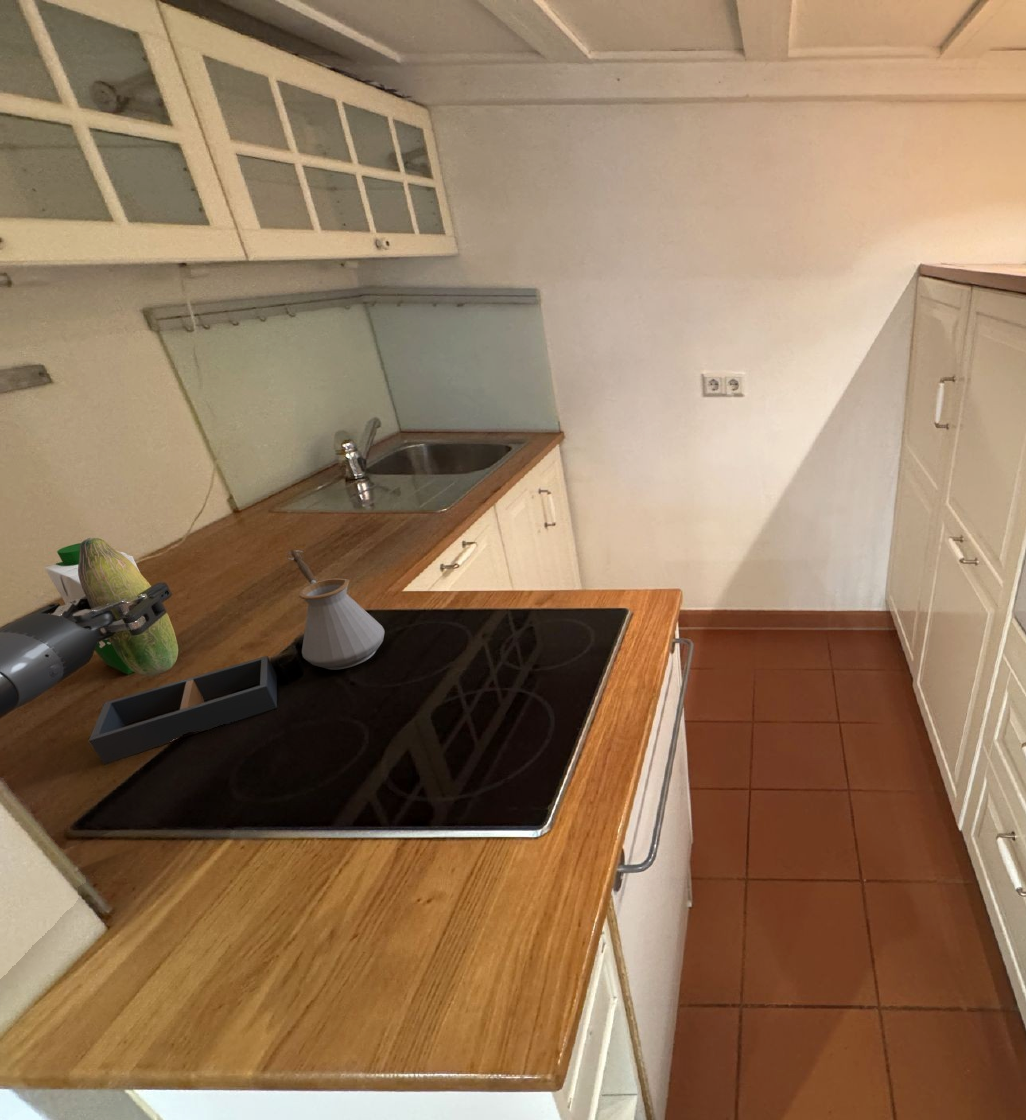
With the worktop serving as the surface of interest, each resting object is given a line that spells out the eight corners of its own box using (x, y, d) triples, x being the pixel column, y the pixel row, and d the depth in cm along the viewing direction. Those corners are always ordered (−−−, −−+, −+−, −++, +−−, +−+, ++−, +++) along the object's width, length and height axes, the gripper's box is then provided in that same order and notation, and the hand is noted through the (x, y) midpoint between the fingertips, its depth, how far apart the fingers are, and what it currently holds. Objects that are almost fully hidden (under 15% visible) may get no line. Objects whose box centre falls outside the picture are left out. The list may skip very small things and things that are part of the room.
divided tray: (103, 764, 79) (88, 740, 77) (118, 724, 86) (104, 702, 85) (276, 708, 89) (266, 685, 87) (277, 676, 96) (267, 655, 94)
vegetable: (200, 657, 87) (136, 527, 78) (181, 681, 82) (110, 545, 73) (147, 666, 85) (76, 534, 76) (123, 692, 80) (44, 553, 71)
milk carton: (161, 639, 107) (105, 534, 98) (189, 650, 103) (133, 543, 94) (96, 666, 99) (28, 556, 91) (123, 679, 96) (56, 566, 87)
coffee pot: (400, 653, 101) (372, 572, 94) (320, 686, 93) (283, 601, 87) (357, 611, 114) (330, 537, 107) (284, 637, 106) (250, 560, 100)
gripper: (75, 627, 65) (186, 560, 80) (-82, 640, 63) (62, 570, 78) (109, 684, 68) (210, 610, 83) (-39, 699, 66) (91, 620, 81)
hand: (138, 591), depth 80 cm, fingers closed on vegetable, 6 cm apart
